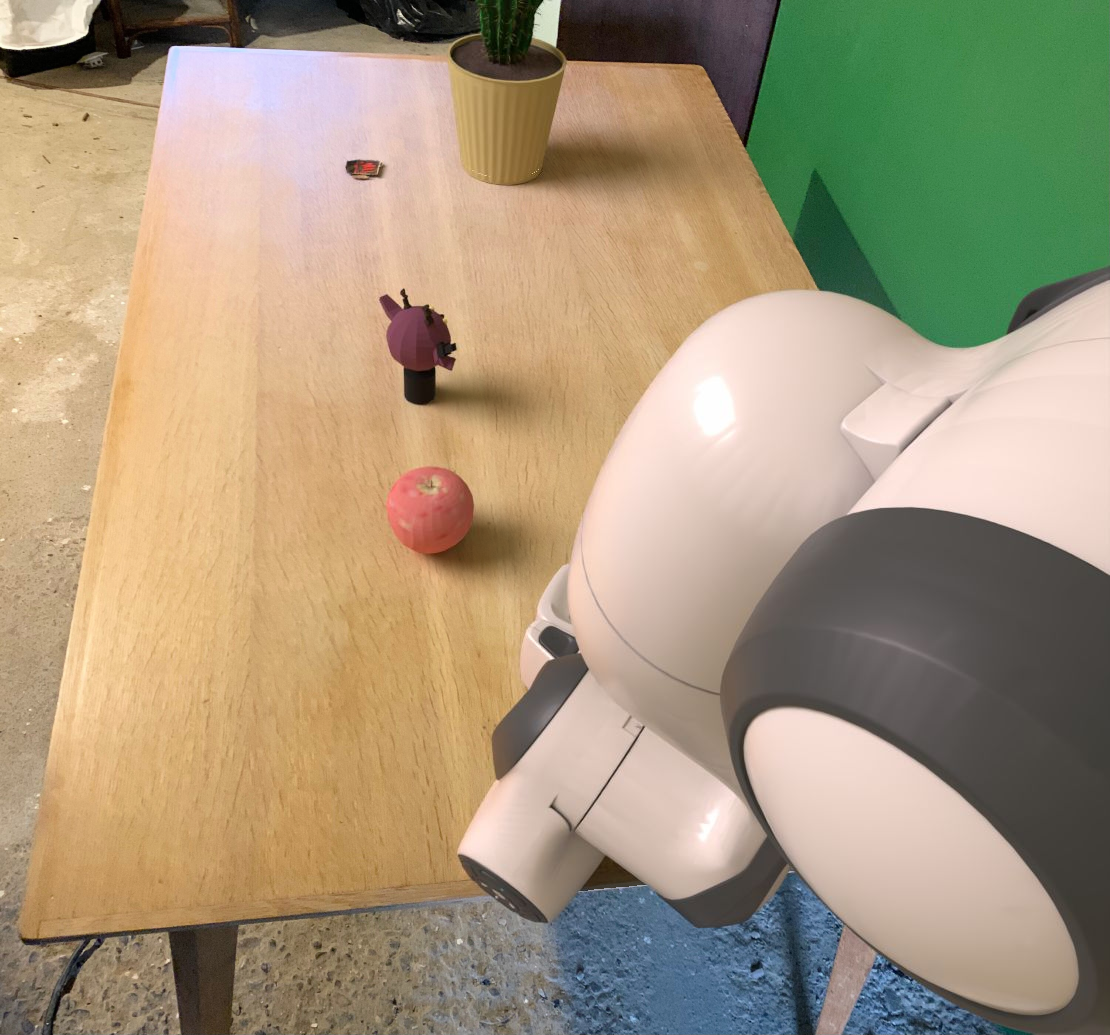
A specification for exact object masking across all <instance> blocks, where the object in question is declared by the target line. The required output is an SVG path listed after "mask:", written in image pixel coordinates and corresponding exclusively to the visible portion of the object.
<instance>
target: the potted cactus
mask: <svg viewBox="0 0 1110 1035" xmlns="http://www.w3.org/2000/svg"><path fill="white" fill-rule="evenodd" d="M548 1H550V2H552V0H548ZM475 4H476V6H477V7H476V9H477V10H476V11H475V13H478V11H479V14H477V15H476V17H474V19H476V18H477V17H479V21H478V23H476V25H480V26H479V27H478V30H479V32H480V33H475V34H469V35H465V36H463V37H460V38H458V39H456V40H454V41H453V42H451V43H450V44H449V45H448V47H447V49H446V57H447V65H448V73H449V74H448V75H449V79H450V87H451V88H450V89H451V95H452V102H453V103H452V104H453V110H454V119H455V127H456V133H457V134H456V136H457V141H458V142H457V143H458V150H459V156H460V157H459V158H460V163H461V166H462V168H463V170H464V171H465V172H466V174H468V175H469V176H470V177H472V178H474V179H476V180H478V181H481V182H485V183H486V184H487V183H488V184H491V185H502V186H513V185H514V186H515V185H520V184H524V183H528V182H530V181H533V180H534V179H536V177H538V176H539V175H540V173H541V172H542V171H541V170H542V168H543V164H544V159H545V156H546V151H547V146H548V142H549V139H550V134H551V129H552V125H553V122H554V117H555V112H556V108H557V104H558V101H559V96H560V92H561V88H562V83H563V80H564V75H565V69H566V67H567V63H568V62H567V57H566V56H565V54H564V53H563V52H562V50H560V49H559V48H557V47H556V46H555V45H553V44H551V43H549V42H546V41H545V40H542V39H539V38H536V36H535V35H534V31H535V33H538V31H537V30H536V26H538V27H540V24H537V23H535V20H536V19H535V18H536V17H535V16H536V15H539V16H541V17H542V18H543V16H542V15H544V14H542V13H543V12H542V10H541V9H540V8H539V7H540V6H541V5H542V4H545V0H475ZM538 11H540V12H542V13H540V12H538ZM543 19H544V18H543ZM461 159H462V160H461ZM462 162H463V163H464V164H463V163H462ZM541 165H542V166H541ZM466 166H467V167H466ZM468 167H469V168H470V169H471V170H470V169H469V168H468ZM538 169H539V170H538ZM472 170H474V171H475V172H474V171H472ZM536 171H537V172H536ZM476 172H477V173H476ZM534 172H535V173H534ZM478 173H481V174H483V175H481V174H478ZM532 173H533V174H532ZM484 175H487V176H484ZM489 176H490V177H489Z"/></svg>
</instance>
